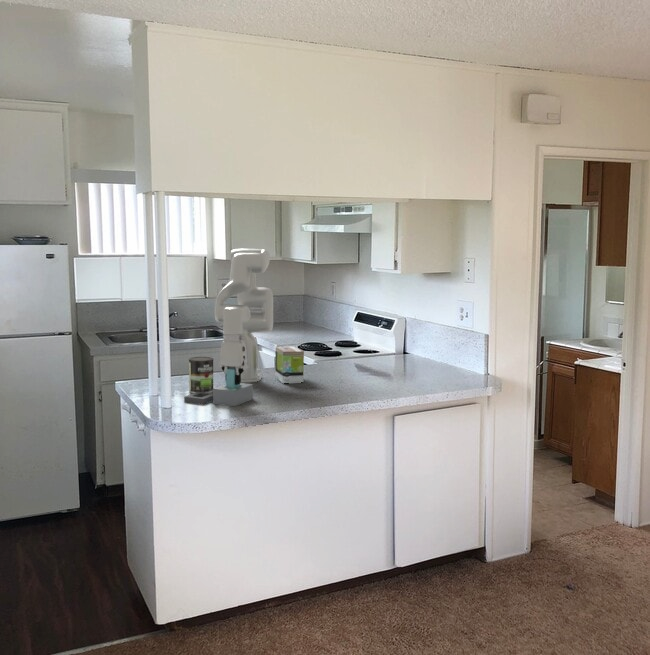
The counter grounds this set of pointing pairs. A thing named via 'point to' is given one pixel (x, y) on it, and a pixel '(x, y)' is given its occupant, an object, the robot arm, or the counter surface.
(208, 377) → the coffee can
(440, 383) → the counter surface
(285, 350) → the tea box
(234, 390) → the port
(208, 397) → the holster
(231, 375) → the plug
